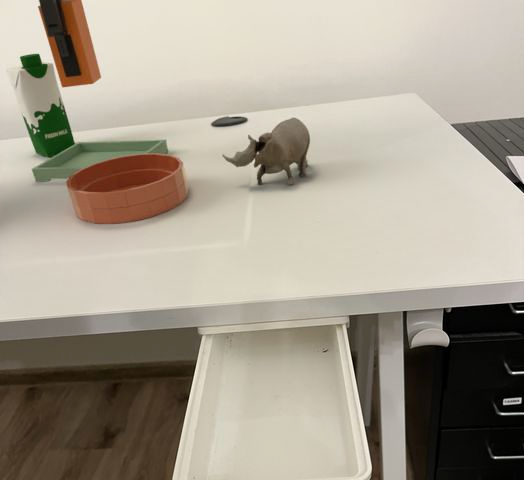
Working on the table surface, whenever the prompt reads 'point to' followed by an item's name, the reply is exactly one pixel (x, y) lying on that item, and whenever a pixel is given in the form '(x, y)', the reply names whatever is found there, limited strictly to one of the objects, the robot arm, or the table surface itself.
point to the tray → (93, 156)
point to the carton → (76, 45)
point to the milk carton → (41, 105)
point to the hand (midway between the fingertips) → (79, 72)
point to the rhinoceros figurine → (277, 150)
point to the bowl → (128, 188)
